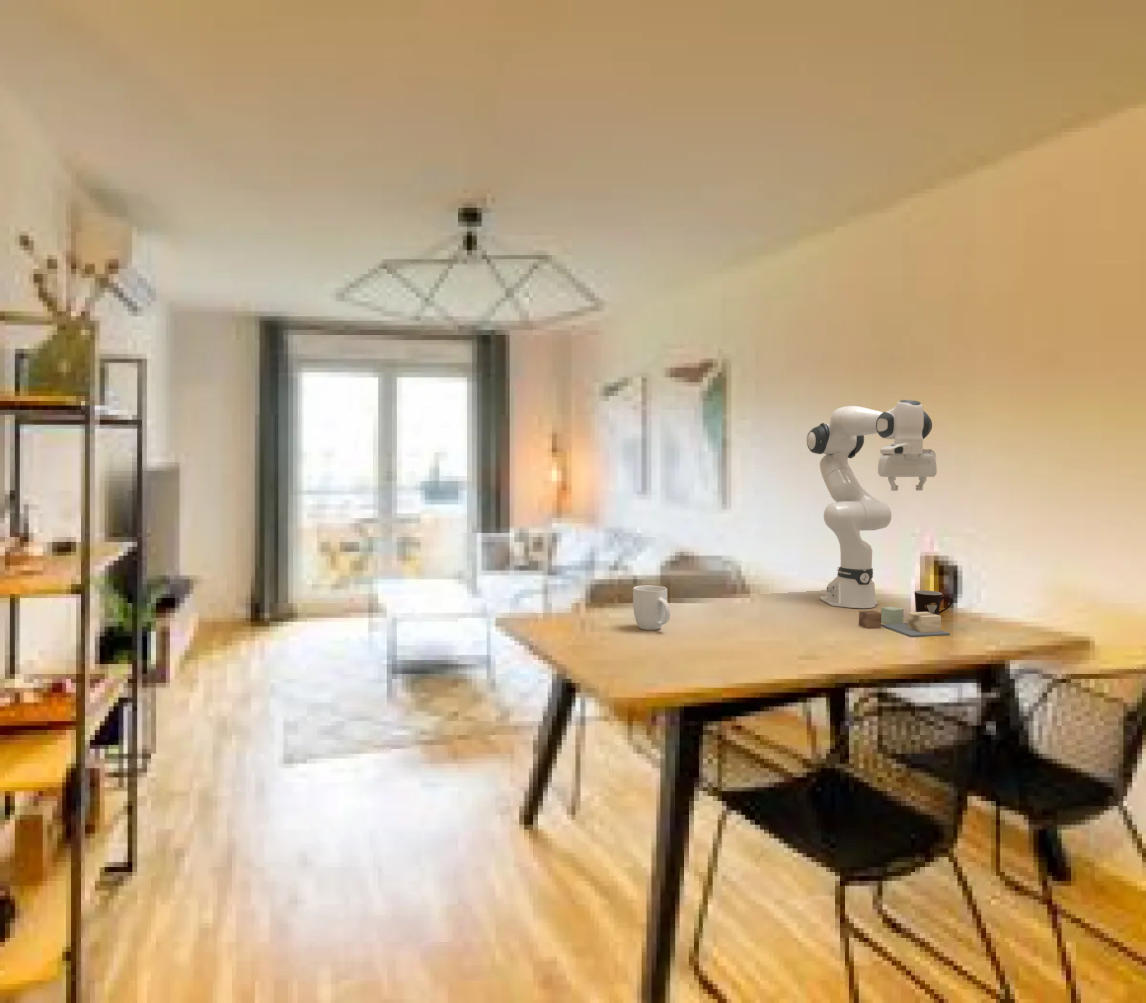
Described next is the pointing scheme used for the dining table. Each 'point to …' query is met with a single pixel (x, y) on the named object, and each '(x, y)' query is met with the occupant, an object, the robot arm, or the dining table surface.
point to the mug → (650, 606)
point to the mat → (905, 630)
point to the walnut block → (870, 619)
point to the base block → (924, 622)
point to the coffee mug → (929, 601)
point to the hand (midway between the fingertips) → (906, 490)
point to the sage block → (892, 615)
